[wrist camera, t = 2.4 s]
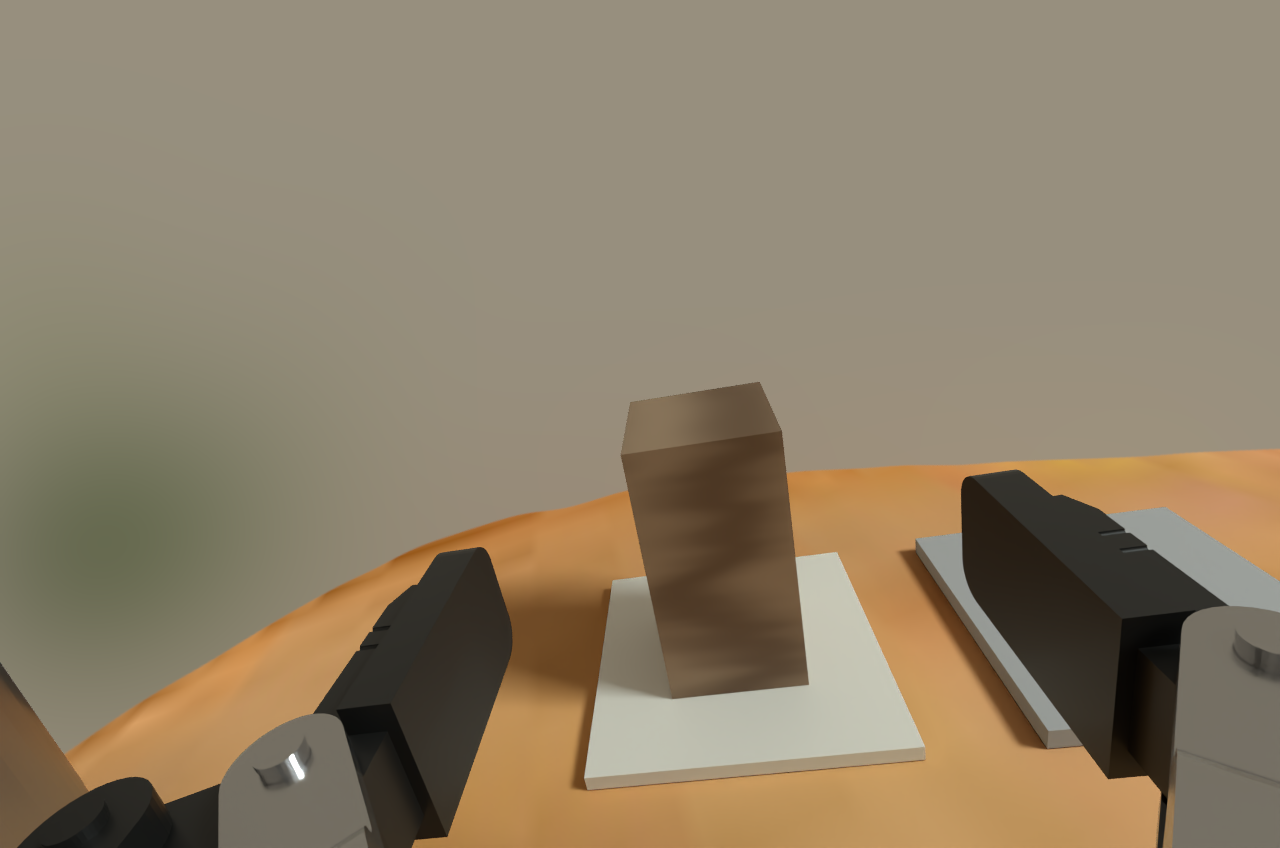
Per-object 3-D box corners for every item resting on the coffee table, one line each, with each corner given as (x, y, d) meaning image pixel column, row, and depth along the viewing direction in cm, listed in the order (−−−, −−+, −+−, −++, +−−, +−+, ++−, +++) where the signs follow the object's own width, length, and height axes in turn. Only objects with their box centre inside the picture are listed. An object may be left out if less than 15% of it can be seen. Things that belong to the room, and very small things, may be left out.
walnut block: (672, 699, 25) (620, 454, 21) (671, 611, 30) (630, 402, 26) (809, 684, 24) (781, 430, 21) (784, 597, 30) (759, 381, 26)
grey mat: (1047, 748, 21) (1048, 731, 21) (915, 551, 32) (915, 538, 32) (1444, 713, 20) (1451, 693, 19) (1163, 520, 31) (1165, 506, 31)
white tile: (587, 790, 23) (583, 778, 22) (614, 589, 34) (612, 580, 34) (925, 759, 21) (925, 746, 21) (837, 561, 32) (836, 551, 32)
